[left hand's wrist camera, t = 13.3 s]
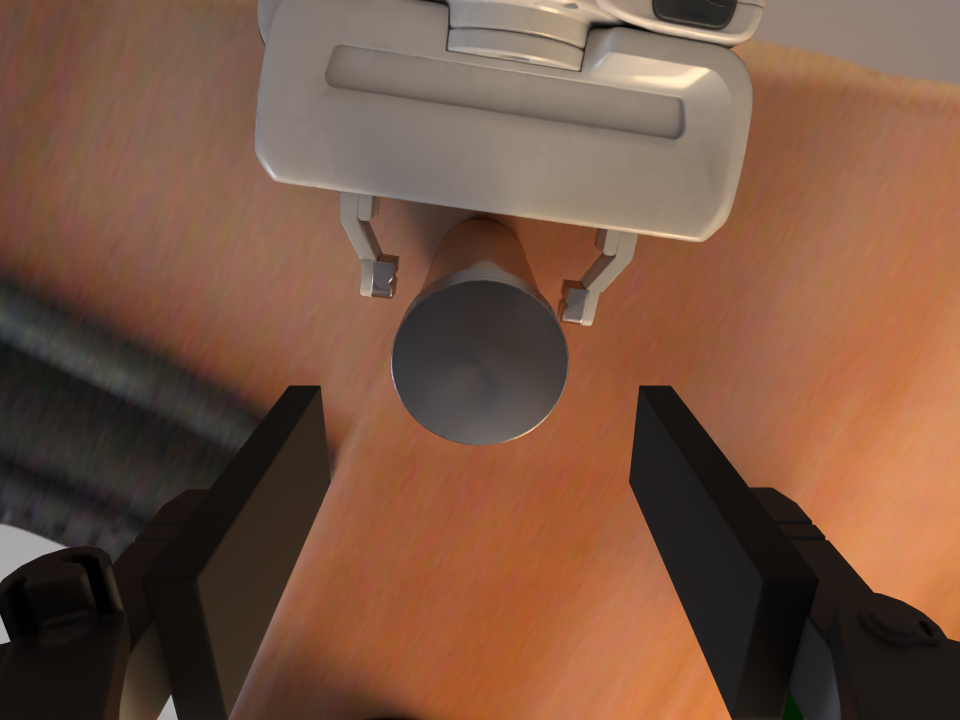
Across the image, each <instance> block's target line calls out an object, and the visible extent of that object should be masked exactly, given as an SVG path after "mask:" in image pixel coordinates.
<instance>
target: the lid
mask: <svg viewBox="0 0 960 720" xmlns="http://www.w3.org/2000/svg"><path fill="white" fill-rule="evenodd" d="M391 371H392V377H393V382H394V386H395V388H396V391H397V394H398V396H399V398H400V399H401V401H402V403H403V405H404V406H405V408H406V409H407V410H408V412H409V413H410V414H411V415H412V416H413V417H414V418H415V419H416V420H417V421H418V422H419V423H420V424H421V425H422V426H424V427H425V428H426V429H428V430H429V431H431V432H433V433H434V434H436V435H438V436H440V437H442V438H445V439H448V440H451V441H453V442H457V443H462V444H468V445H491V444H499V443H502V442H506V441H510V440H512V439H515V438H518V437H520V436H522V435H524V434H526V433H527V432H529V431H531V430H532V429H533V428H535V427H536V426H538V425H539V424H540V423H541V422H542V421H543V420H544V419H546V417H547V416H548V415H549V414H550V413H551V412H552V410H553V409H554V408H555V406H556V405H557V403H558V401H559V400H560V397H561V395H562V393H563V391H564V388H565V385H566V382H567V377H568V372H569V354H568V347H567V343H566V339H565V336H564V334H563V331H562V329H561V327H560V324H559V322H558V319H557V317H556V315H555V313H554V311H553V309H552V307H551V306H550V304H549V303H548V302H547V300H546V299H545V298H544V296H543V295H542V294H541V293H540V292H539V291H538V290H537V289H536V288H534V287H533V286H532V285H530V284H529V283H528V282H526V281H524V280H522V279H521V278H519V277H517V276H515V275H512V274H509V273H507V272H503V271H499V270H495V269H486V268H474V269H466V270H460V271H457V272H453V273H450V274H448V275H446V276H443V277H441V278H439V279H437V280H436V281H434V282H432V283H431V284H430V285H428V286H427V287H426V288H425V289H423V290H422V291H421V292H420V293H419V294H418V295H417V296H416V298H415V299H414V300H413V301H412V303H411V304H410V306H409V307H408V309H407V311H406V313H405V315H404V317H403V319H402V321H401V324H400V326H399V329H398V331H397V334H396V336H395V339H394V342H393V347H392V352H391Z"/></svg>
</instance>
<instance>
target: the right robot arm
mask: <svg viewBox="0 0 960 720" xmlns="http://www.w3.org/2000/svg"><path fill="white" fill-rule="evenodd" d="M765 2H766V0H258V26H259V32H260V36H261V38H262V41H263V43H264V45H265V51H264V56H263V62H262V68H261V75H260V82H259V90H258V99H257V110H256V123H255V153H256V156H257V158H258V160H259V161H260V163H261V164H262V166H263V167H264V169H265V170H266V172H267V173H268V175H269V176H270V177H271V179H273V180H274V181H277V182H282V183H289V184H296V185H303V186H309V187H316V188H323V189H330V190H337V191H340V211H339V218H340V220H341V222H342V224H343V226H344V228H345V230H346V232H347V234H348V236H349V238H350V240H351V242H352V244H353V246H354V248H355V250H356V252H357V255H358V257H359V258H360V259H362V270H361V285H360V292H361V295H364V296H370V297H371V296H372V297H380V298H389V299H392V298H393V295H395V292H396V286H397V278H396V276H395V274H396V272H397V271H398V264H399V256H393V255H387V254H382V250H381V248H380V246H379V244H378V241H377V239H376V237H375V235H374V232H373V230H372V228H371V225H370V223H369V220H371V219H372V218H373V217H374V216H376V215H377V214H378V213H379V202H380V197H386V198H393V199H400V200H407V201H414V202H421V203H428V204H434V205H441V206H448V207H455V208H462V209H469V210H476V211H483V212H490V213H497V214H504V215H511V216H518V217H525V218H532V219H539V220H546V221H553V222H559V223H566V224H573V225H580V226H587V227H594V228H597V233H596V238H595V243H594V244H595V246H596V247H597V248H598V249H599V250H600V251H601V252H602V254H601V255H600V256H599V257H598V259H597V260H596V261H595V262H594V264H593V265H592V266H591V267H590V268H589V270H588V271H587V272H586V273H585V274H584V276H583V277H582V278H581V279H580V281H574V280H565V279H563V284H562V289H561V293H562V295H563V298H562V299H561V300H560V301H559V305H558V317H559V318H560V322H564V323H571V324H578V325H586V326H591V325H592V322H593V320H594V315H595V311H596V306H597V302H598V297H599V293H600V292H603V291H604V290H605V289H606V288H607V286H608V285H609V284H610V283H611V282H612V281H613V280H614V279H615V278H616V277H617V276H618V274H619V273H620V272H621V271H622V270H623V269H624V268H625V267H626V266H627V265H628V263H629V262H630V261H631V260H632V258H633V254H634V250H635V246H636V242H637V237H638V234H643V235H650V236H657V237H664V238H671V239H678V240H685V241H692V242H703V241H705V240H706V239H708V238H709V237H710V236H711V235H713V234H714V233H715V232H716V231H717V230H718V229H719V228H720V227H721V226H723V225H724V224H725V222H726V221H727V219H728V217H729V214H730V212H731V208H732V205H733V202H734V198H735V195H736V191H737V187H738V183H739V179H740V175H741V170H742V166H743V161H744V156H745V151H746V146H747V140H748V134H749V127H750V121H751V114H752V104H753V90H752V82H751V78H750V74H749V71H748V69H747V67H746V65H745V63H744V62H743V61H742V59H741V58H740V57H739V56H738V55H737V54H735V53H734V52H733V51H731V50H729V49H731V48H733V47H735V46H737V45H739V44H740V43H742V42H744V41H745V40H747V39H748V38H750V37H751V36H752V35H753V34H754V32H755V31H756V29H757V27H758V25H759V22H760V20H761V17H762V14H763V10H764V9H763V8H764V7H765Z"/></svg>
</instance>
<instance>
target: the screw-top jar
mask: <svg viewBox="0 0 960 720" xmlns="http://www.w3.org/2000/svg"><path fill="white" fill-rule="evenodd" d="M474 268H486V269H495V270H499V271H503V272H507V273H509V274H512V275H515V276H517V277H519V278H521V279H522V280H524V281H526V282H528V283H529V284H530V285H532V286H533V287H534V288H536V289H537V290H538V291H539V289H538V287H537V284H536V282H535V279H534V276H533V274H532V271H531V269H530V266H529V264H528V261H527V258H526V256H525V253H524V251H523V248H522V246H521V244H520V242H519V240H518V239H517V237H516V236H515V235H514V234H513V233H512V232H511V231H510V230H509V229H508V228H506V227H505V226H503V225H501V224H500V223H497V222H494V221H491V220H485V219H475V220H469V221H466V222H463V223H461V224H458V225H457V226H455V227H454V228H452V229H451V230H450V231H449V232H448V233H447V234H446V235H445V236H444V237H443V239H442V240H441V242H440V244H439V246H438V248H437V251H436V253H435V256H434V258H433V261H432V263H431V266H430V269H429V271H428V274H427V276H426V279H425V282H424V284H423V287H422V289H421V291H422V290H423V289H425V288H426V287H427V286H428V285H430V284H431V283H432V282H434V281H436V280H437V279H439V278H441V277H443V276H446V275H448V274H450V273H453V272H457V271H460V270H466V269H474Z"/></svg>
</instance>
